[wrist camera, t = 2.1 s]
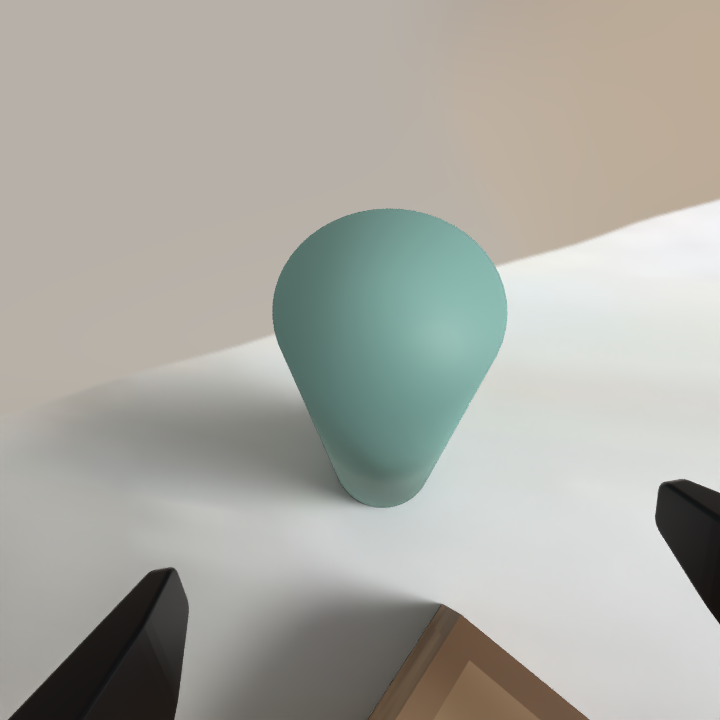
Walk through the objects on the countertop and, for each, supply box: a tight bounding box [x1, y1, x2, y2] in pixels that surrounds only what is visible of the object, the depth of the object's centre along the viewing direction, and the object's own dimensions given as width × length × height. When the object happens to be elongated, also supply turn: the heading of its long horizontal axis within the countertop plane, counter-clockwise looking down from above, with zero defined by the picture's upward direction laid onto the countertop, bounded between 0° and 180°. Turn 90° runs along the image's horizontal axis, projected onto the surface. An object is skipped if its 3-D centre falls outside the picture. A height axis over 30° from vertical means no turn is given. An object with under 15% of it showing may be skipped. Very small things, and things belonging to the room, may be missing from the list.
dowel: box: [273, 209, 507, 508], centre depth 14 cm, size 4×4×13 cm
